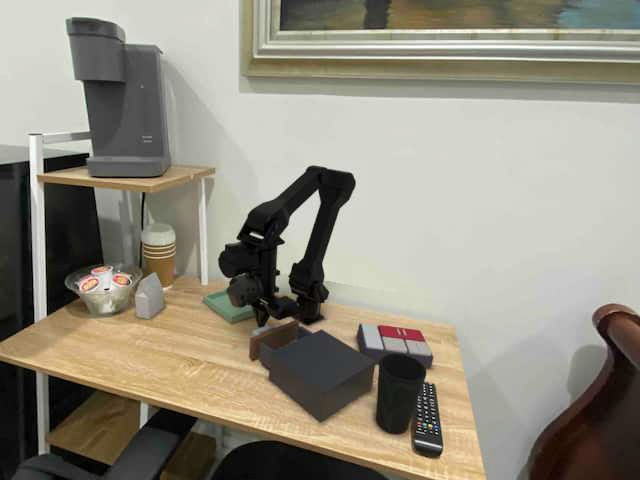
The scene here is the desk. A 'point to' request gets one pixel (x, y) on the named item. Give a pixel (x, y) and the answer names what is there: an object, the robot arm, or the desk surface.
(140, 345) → the desk surface
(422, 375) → the cup
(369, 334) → the red and grey box
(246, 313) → the tray
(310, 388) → the dark grey box
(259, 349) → the drawer
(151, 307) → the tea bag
